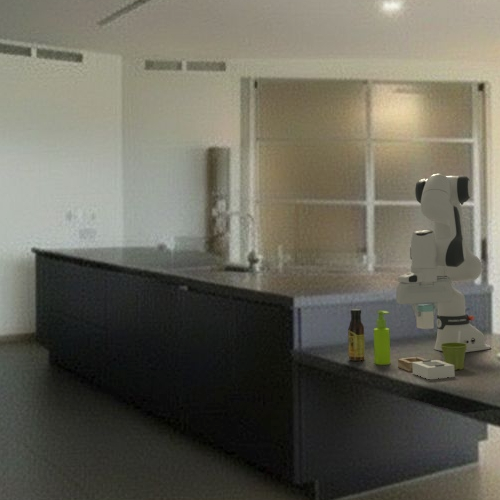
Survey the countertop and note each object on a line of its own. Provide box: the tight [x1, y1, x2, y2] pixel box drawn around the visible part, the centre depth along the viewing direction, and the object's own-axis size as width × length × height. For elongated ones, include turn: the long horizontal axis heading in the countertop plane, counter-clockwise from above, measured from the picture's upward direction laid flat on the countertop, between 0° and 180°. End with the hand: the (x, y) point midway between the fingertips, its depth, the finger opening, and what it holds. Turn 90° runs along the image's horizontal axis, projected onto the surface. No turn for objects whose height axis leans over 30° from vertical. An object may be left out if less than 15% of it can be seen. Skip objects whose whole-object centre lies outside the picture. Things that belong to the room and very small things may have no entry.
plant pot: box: [440, 343, 467, 371], centre depth 271 cm, size 9×9×9 cm
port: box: [412, 359, 456, 380], centre depth 261 cm, size 10×11×4 cm
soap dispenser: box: [373, 310, 391, 366], centre depth 285 cm, size 6×7×20 cm
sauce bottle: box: [347, 308, 366, 362], centre depth 294 cm, size 6×6×20 cm
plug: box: [415, 303, 435, 330], centre depth 264 cm, size 4×5×8 cm
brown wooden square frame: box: [397, 356, 427, 372], centre depth 274 cm, size 9×10×3 cm
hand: (424, 316), depth 264 cm, fingers closed on plug, 4 cm apart
